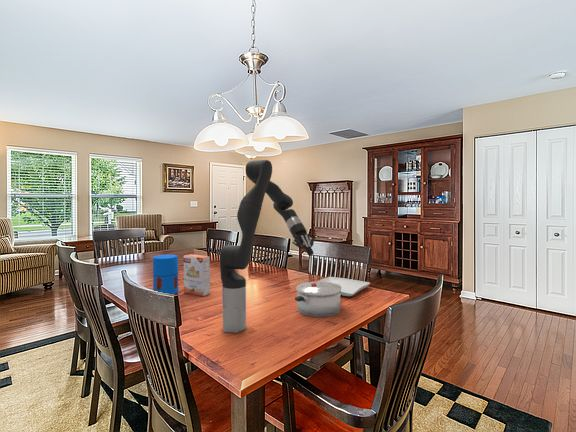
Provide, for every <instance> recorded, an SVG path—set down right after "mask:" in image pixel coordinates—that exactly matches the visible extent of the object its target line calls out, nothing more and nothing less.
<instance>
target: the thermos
mask: <svg viewBox="0 0 576 432" xmlns="http://www.w3.org/2000/svg"><path fill="white" fill-rule="evenodd" d="M152 284H153V286H152V289H153V290H154V291H158V292H163V293H169V294H174V295H178V296H179V258H178V255H176V254H159V255H155V256H153V257H152ZM153 290H152V291H153ZM179 297H180V296H179Z"/></svg>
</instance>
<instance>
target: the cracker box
mask: <svg viewBox="0 0 576 432" xmlns="http://www.w3.org/2000/svg"><path fill="white" fill-rule="evenodd" d="M210 257H211V256H207V255H200V254H193V253H190V254H185V255H183V293H185V294H188V295H189V294H190V295H194V296H199V297H205V296H208V295H210V294H211V264H210V263H211V258H210Z"/></svg>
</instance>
